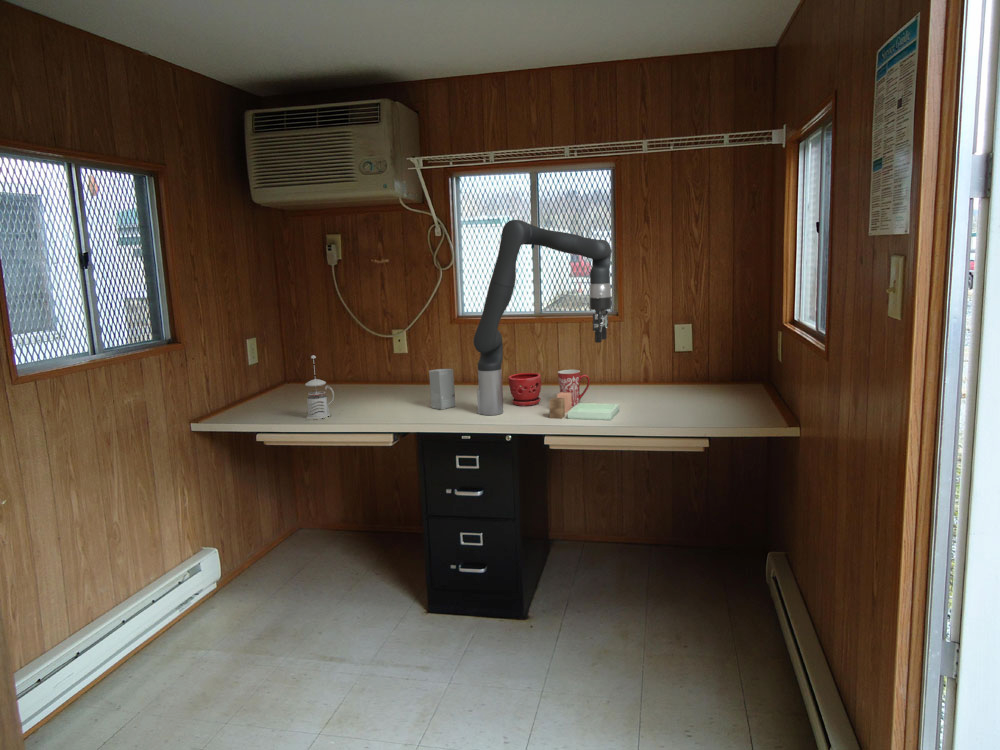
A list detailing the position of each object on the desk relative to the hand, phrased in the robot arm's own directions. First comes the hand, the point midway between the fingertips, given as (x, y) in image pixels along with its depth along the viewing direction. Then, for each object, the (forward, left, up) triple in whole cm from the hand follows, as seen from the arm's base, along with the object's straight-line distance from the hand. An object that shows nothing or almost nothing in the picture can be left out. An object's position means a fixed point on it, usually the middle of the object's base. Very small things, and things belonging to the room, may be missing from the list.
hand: (600, 340), depth 264 cm
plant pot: (-36, +18, -29) cm, 49 cm away
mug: (-16, +20, -29) cm, 38 cm away
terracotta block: (-16, +7, -28) cm, 34 cm away
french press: (-111, -17, -29) cm, 116 cm away
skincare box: (-68, +7, -29) cm, 74 cm away
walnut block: (-16, -3, -28) cm, 33 cm away
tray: (-4, +3, -28) cm, 29 cm away
